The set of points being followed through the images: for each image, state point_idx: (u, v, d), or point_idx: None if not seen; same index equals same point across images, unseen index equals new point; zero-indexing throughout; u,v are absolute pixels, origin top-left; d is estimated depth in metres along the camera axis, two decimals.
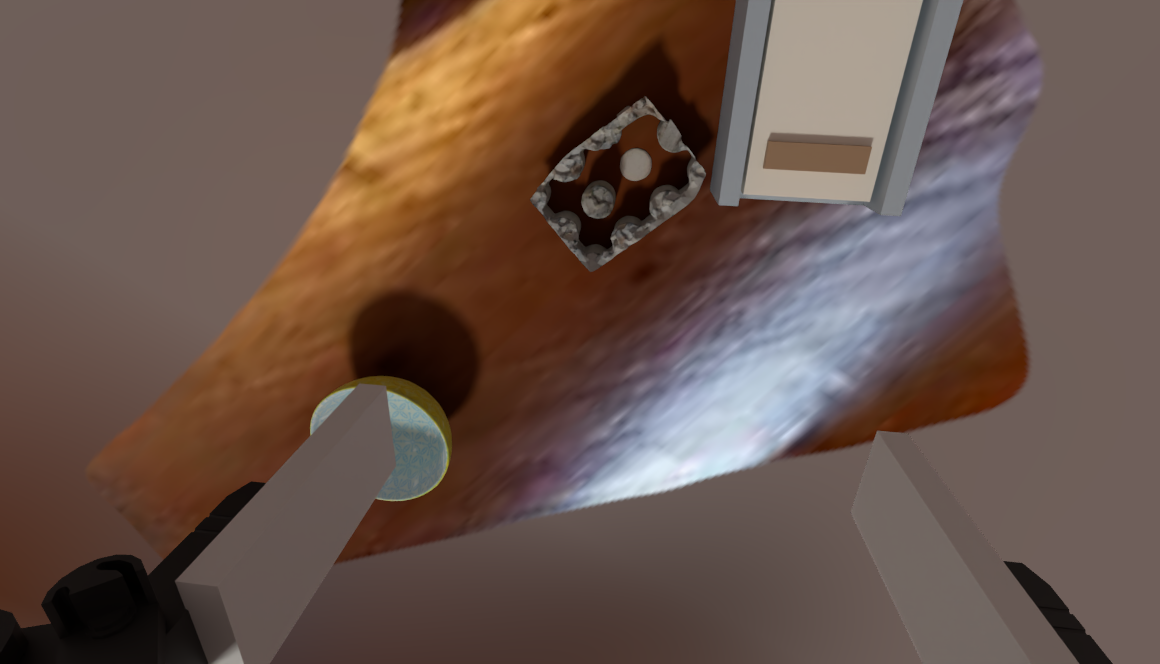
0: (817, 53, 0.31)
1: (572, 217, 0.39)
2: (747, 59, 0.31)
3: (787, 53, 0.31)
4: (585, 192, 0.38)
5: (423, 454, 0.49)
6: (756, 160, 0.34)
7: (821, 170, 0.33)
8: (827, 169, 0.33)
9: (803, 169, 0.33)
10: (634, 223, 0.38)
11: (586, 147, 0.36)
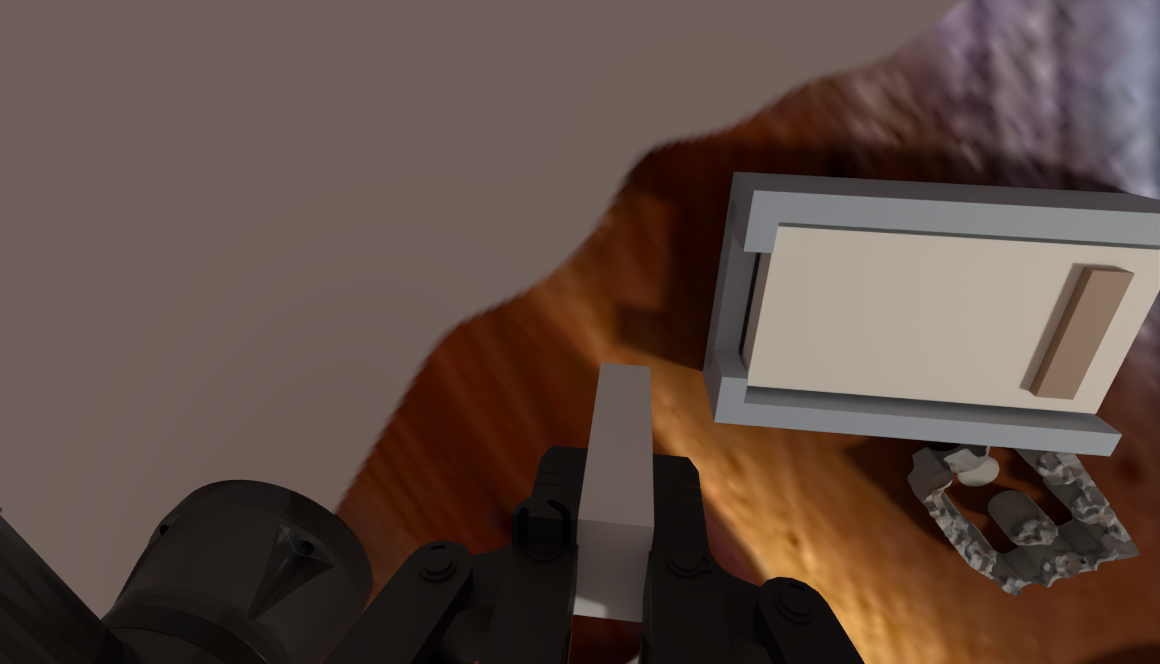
0: (933, 345, 0.25)
1: (1038, 547, 0.32)
2: (928, 433, 0.26)
3: (924, 377, 0.26)
4: (1015, 542, 0.31)
5: None
6: (1052, 401, 0.25)
7: (1104, 330, 0.23)
8: (1106, 324, 0.23)
9: (1093, 353, 0.24)
10: (1073, 494, 0.30)
11: None
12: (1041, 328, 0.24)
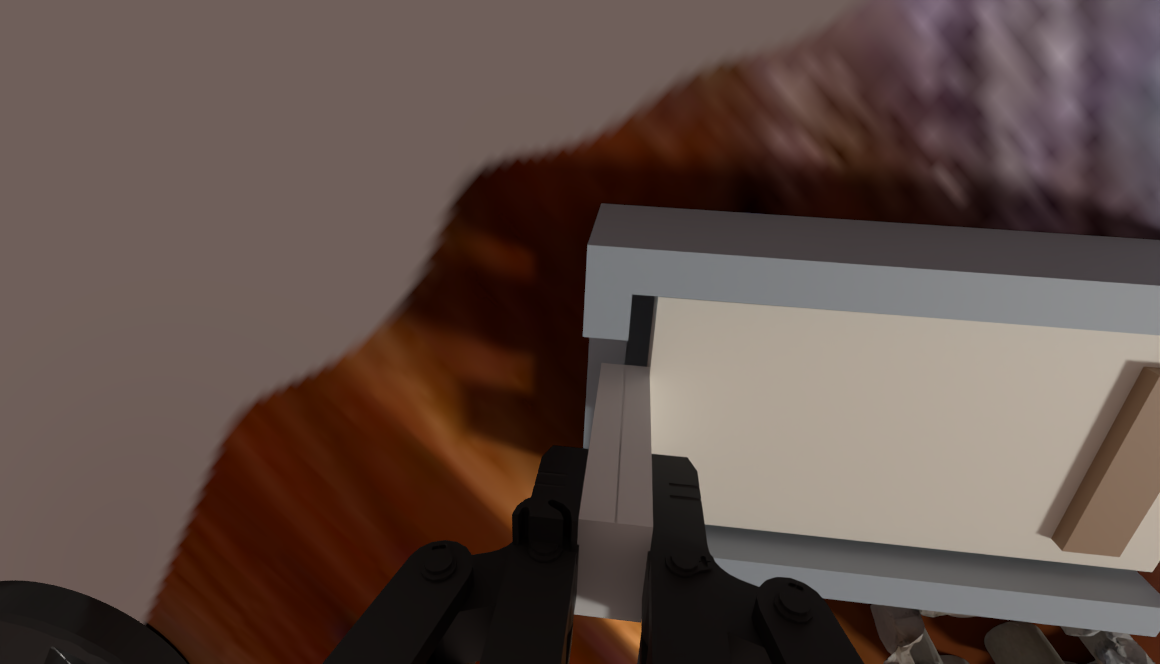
0: (906, 472, 0.16)
1: None
2: (881, 595, 0.17)
3: (893, 515, 0.17)
4: None
5: None
6: (1086, 553, 0.17)
7: None
8: None
9: (1154, 495, 0.15)
10: (1100, 643, 0.21)
11: None
12: (1072, 453, 0.16)
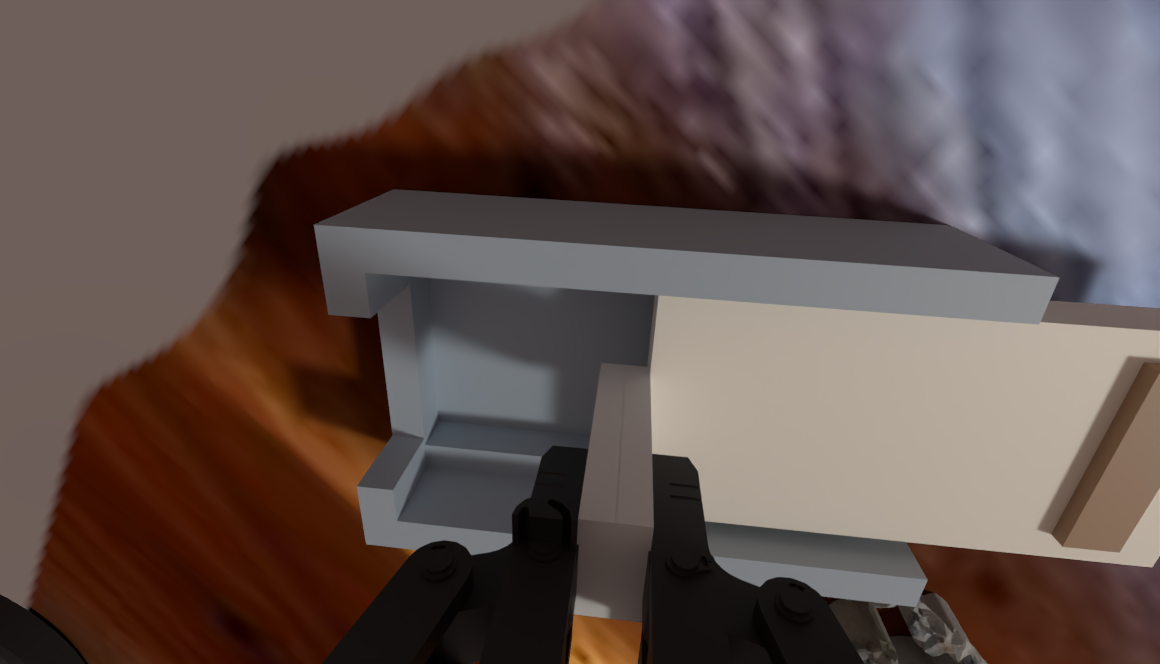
0: (906, 468, 0.16)
1: None
2: None
3: (894, 511, 0.17)
4: None
5: None
6: (1086, 549, 0.17)
7: None
8: None
9: (1154, 490, 0.15)
10: (910, 615, 0.21)
11: None
12: (1072, 449, 0.16)
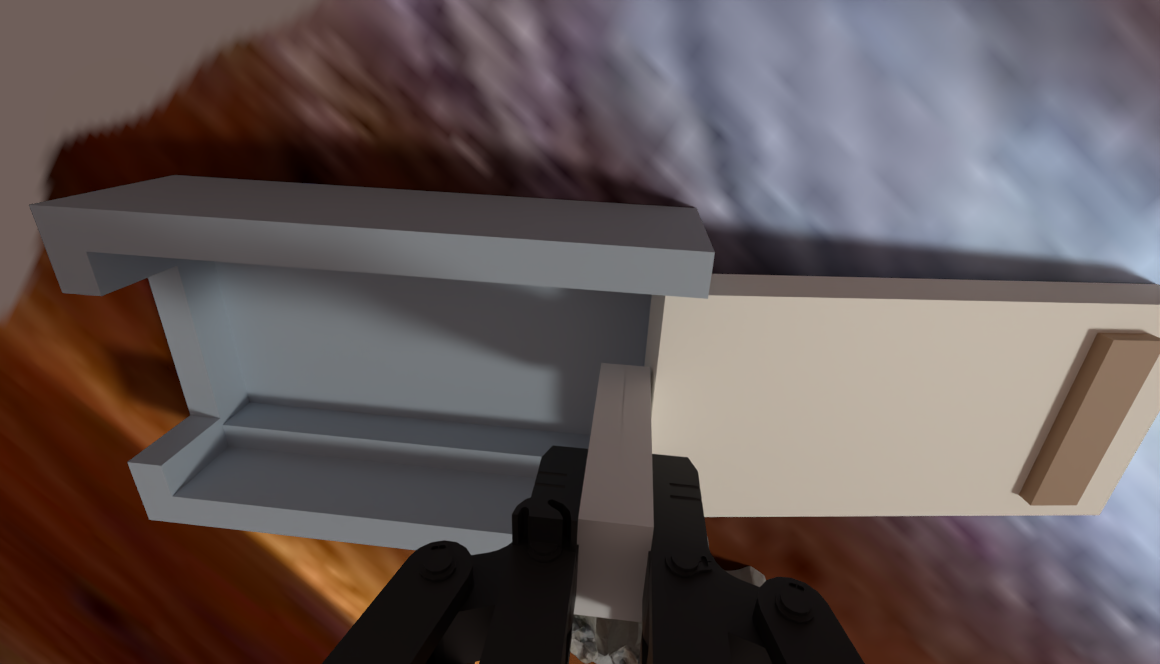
0: (896, 447, 0.17)
1: None
2: (419, 541, 0.18)
3: (884, 488, 0.18)
4: None
5: None
6: (1047, 505, 0.19)
7: (1121, 417, 0.17)
8: (1124, 409, 0.16)
9: (1105, 446, 0.17)
10: None
11: (595, 658, 0.24)
12: (1038, 416, 0.17)
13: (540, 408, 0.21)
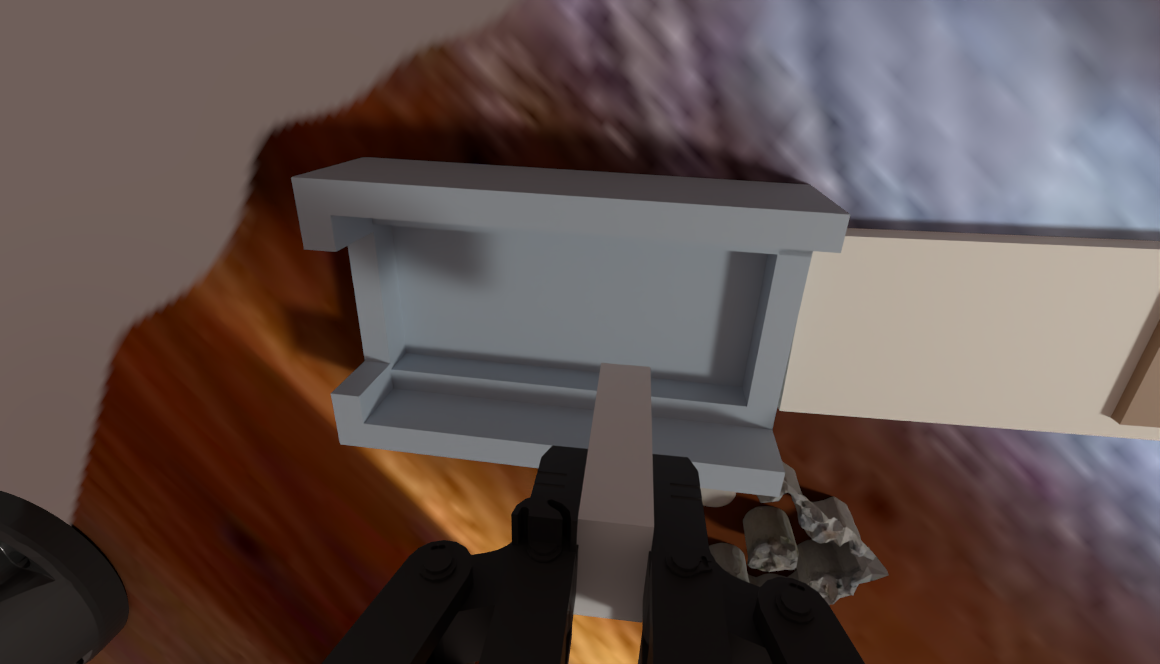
0: (996, 366, 0.22)
1: (801, 569, 0.27)
2: None
3: (985, 402, 0.22)
4: None
5: None
6: (1138, 429, 0.22)
7: None
8: None
9: None
10: (799, 510, 0.25)
11: None
12: (1127, 346, 0.21)
13: (660, 359, 0.24)
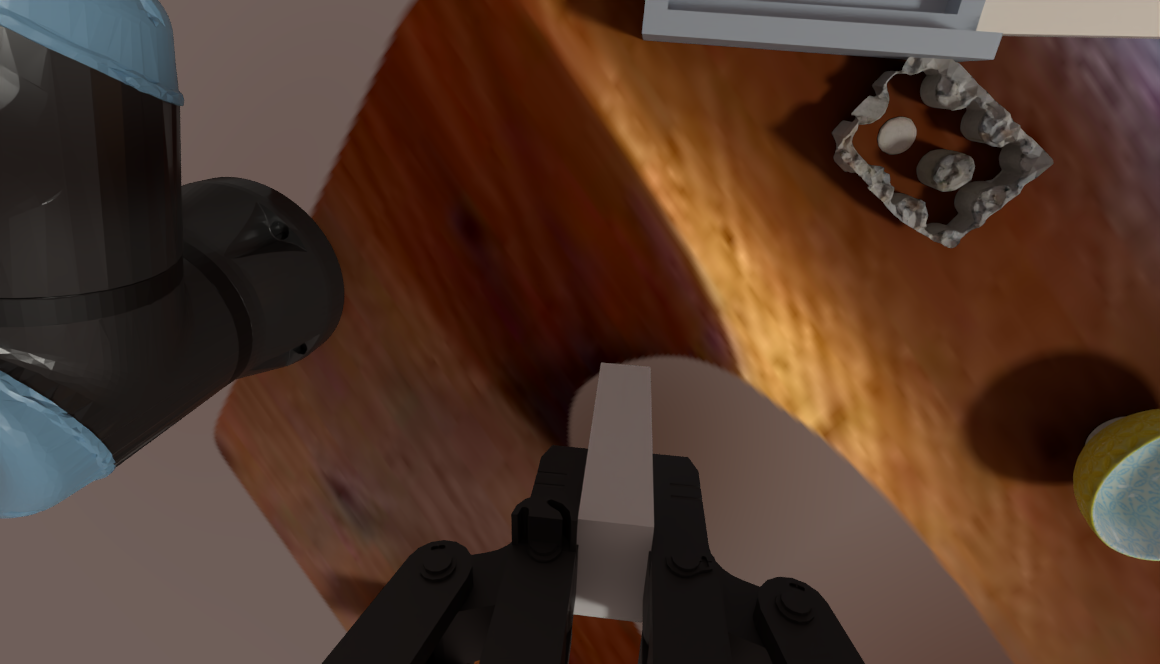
0: None
1: (968, 196, 0.34)
2: (831, 38, 0.28)
3: (1139, 11, 0.29)
4: (940, 189, 0.33)
5: None
6: None
7: None
8: None
9: None
10: (979, 121, 0.32)
11: (890, 199, 0.34)
12: None
13: None
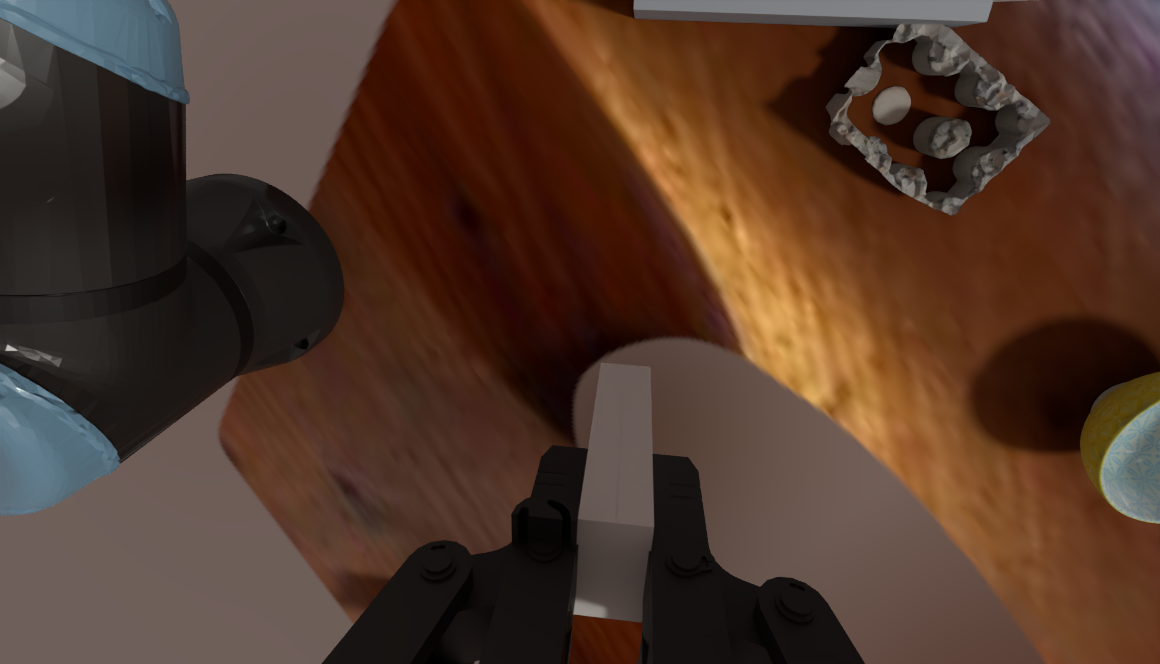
0: None
1: (967, 161, 0.34)
2: (823, 6, 0.28)
3: None
4: (938, 156, 0.33)
5: None
6: None
7: None
8: None
9: None
10: (974, 85, 0.32)
11: (888, 170, 0.34)
12: None
13: None
